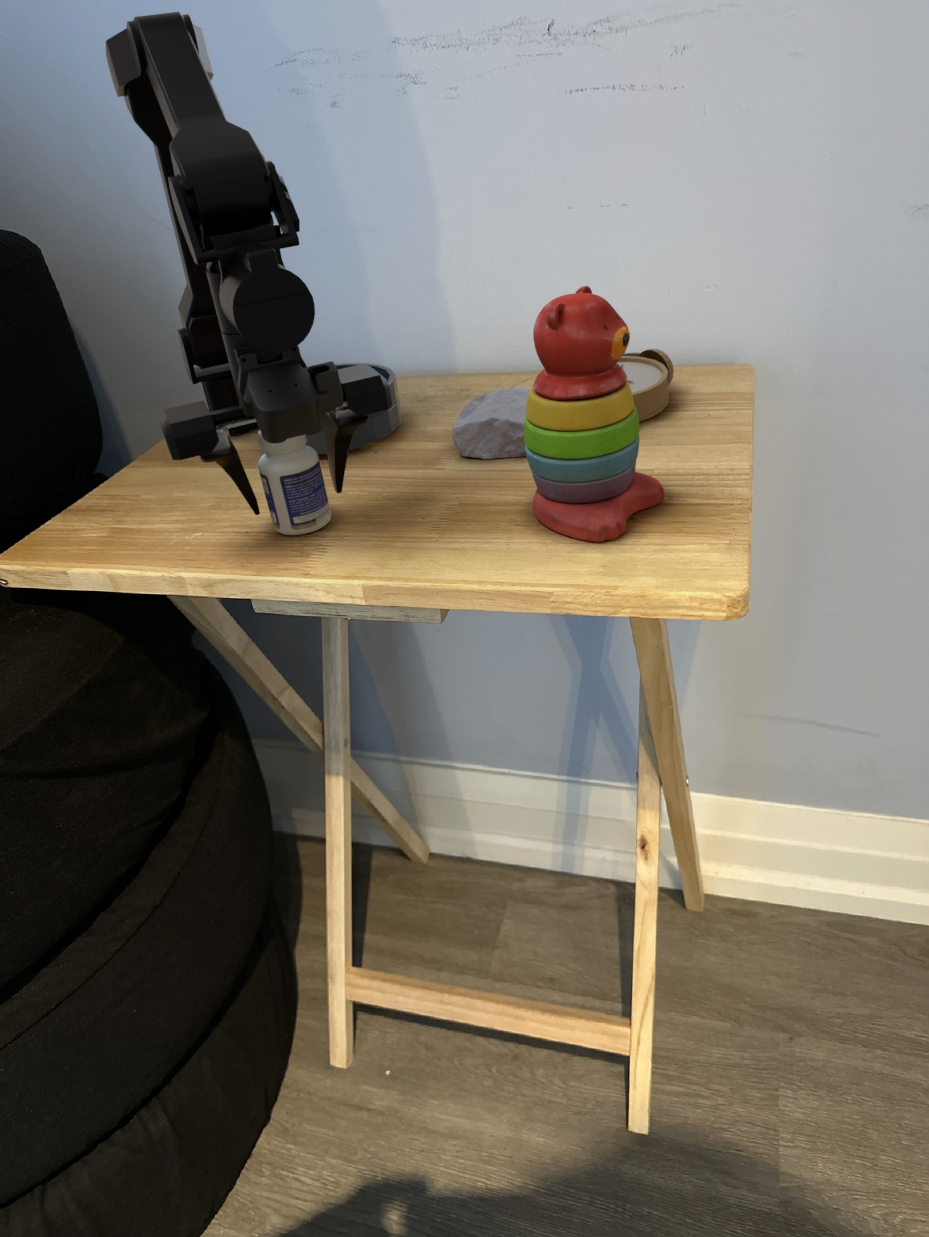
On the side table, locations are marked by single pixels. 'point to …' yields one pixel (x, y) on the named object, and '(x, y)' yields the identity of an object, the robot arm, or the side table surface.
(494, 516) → the side table surface
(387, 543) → the side table surface
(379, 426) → the bowl
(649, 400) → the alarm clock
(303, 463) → the pill bottle
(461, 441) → the stone block
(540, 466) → the stacking bear
